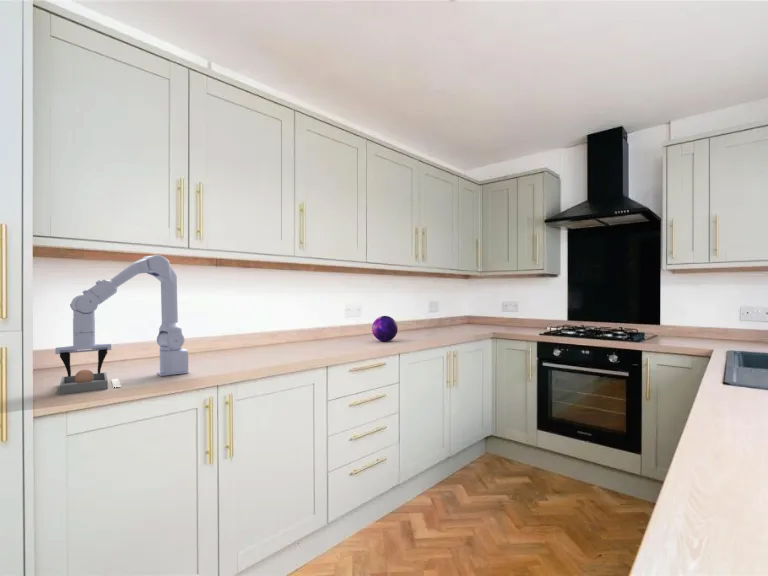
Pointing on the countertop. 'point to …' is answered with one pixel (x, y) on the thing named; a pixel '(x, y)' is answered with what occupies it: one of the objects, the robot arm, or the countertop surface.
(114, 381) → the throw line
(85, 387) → the tray
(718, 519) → the countertop surface
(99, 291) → the robot arm
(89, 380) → the ball
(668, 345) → the countertop surface
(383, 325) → the decorative orb
